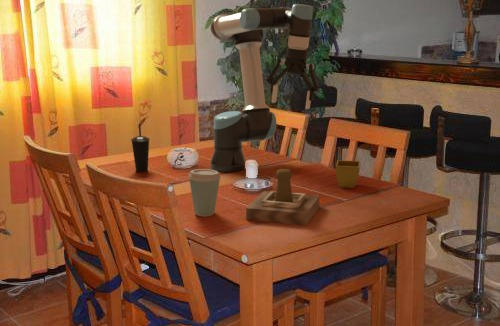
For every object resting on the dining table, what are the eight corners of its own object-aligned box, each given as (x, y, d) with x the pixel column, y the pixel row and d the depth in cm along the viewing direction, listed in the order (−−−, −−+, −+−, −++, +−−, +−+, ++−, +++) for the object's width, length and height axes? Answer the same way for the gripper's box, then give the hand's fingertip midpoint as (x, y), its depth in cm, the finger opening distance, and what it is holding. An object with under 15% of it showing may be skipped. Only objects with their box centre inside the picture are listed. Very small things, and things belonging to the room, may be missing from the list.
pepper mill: (283, 197, 230) (283, 166, 227) (296, 201, 225) (296, 169, 223) (271, 201, 226) (271, 169, 223) (284, 205, 221) (284, 173, 219)
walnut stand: (246, 219, 220) (246, 203, 219) (263, 201, 238) (263, 187, 237) (306, 225, 214) (306, 208, 213) (319, 206, 233) (319, 191, 231)
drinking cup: (141, 167, 287) (139, 121, 282) (154, 170, 282) (152, 123, 277) (128, 171, 281) (126, 124, 276) (142, 174, 276) (139, 126, 271)
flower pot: (358, 190, 252) (359, 166, 250) (335, 188, 254) (335, 165, 251) (359, 183, 260) (360, 161, 258) (336, 182, 262) (337, 160, 260)
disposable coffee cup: (201, 207, 233) (200, 165, 230) (227, 211, 228) (226, 168, 224) (183, 215, 225) (181, 172, 221) (210, 220, 219) (209, 176, 216)
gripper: (333, 52, 243) (325, 110, 249) (270, 42, 253) (264, 98, 258) (326, 53, 236) (318, 112, 242) (262, 43, 246) (255, 100, 252)
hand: (290, 105), depth 250 cm, fingers open, 13 cm apart
